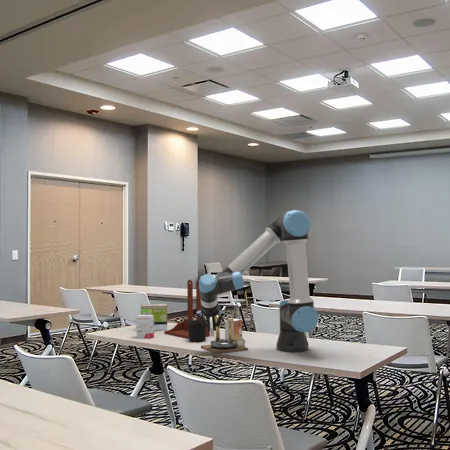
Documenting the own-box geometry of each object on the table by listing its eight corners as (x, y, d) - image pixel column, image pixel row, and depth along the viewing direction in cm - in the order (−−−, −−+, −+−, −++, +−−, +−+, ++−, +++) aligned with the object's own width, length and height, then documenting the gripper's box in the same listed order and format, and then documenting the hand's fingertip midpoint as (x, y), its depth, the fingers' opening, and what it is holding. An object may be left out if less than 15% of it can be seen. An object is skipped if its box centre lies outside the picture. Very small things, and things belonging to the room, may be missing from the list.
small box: (233, 342, 273) (233, 321, 274) (224, 340, 277) (224, 320, 277) (242, 339, 280) (242, 319, 280) (233, 338, 283) (233, 318, 283)
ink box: (154, 336, 290) (154, 314, 290) (151, 338, 285) (151, 316, 286) (139, 336, 292) (139, 314, 292) (135, 338, 287) (135, 315, 287)
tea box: (141, 331, 308) (141, 305, 308) (140, 329, 317) (140, 303, 318) (167, 330, 311) (167, 304, 311) (166, 327, 320) (165, 302, 321)
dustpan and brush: (164, 334, 300) (163, 280, 301) (183, 331, 308) (182, 278, 309) (190, 339, 281) (190, 282, 282) (209, 336, 290) (209, 280, 291)
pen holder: (204, 338, 283) (204, 319, 283) (208, 342, 274) (207, 322, 274) (186, 339, 281) (186, 320, 281) (189, 343, 272) (189, 323, 272)
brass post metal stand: (244, 346, 254) (244, 316, 255) (221, 349, 246) (221, 319, 247) (227, 342, 265) (227, 313, 265) (205, 345, 257) (205, 316, 258)
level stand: (248, 350, 252) (248, 337, 252) (216, 354, 244) (216, 341, 244) (231, 344, 267) (231, 332, 267) (200, 347, 259) (200, 335, 259)
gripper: (194, 309, 238) (198, 340, 254) (223, 309, 237) (225, 340, 253) (195, 296, 244) (199, 327, 260) (224, 295, 243) (226, 327, 259)
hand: (212, 333), depth 256 cm, fingers closed
